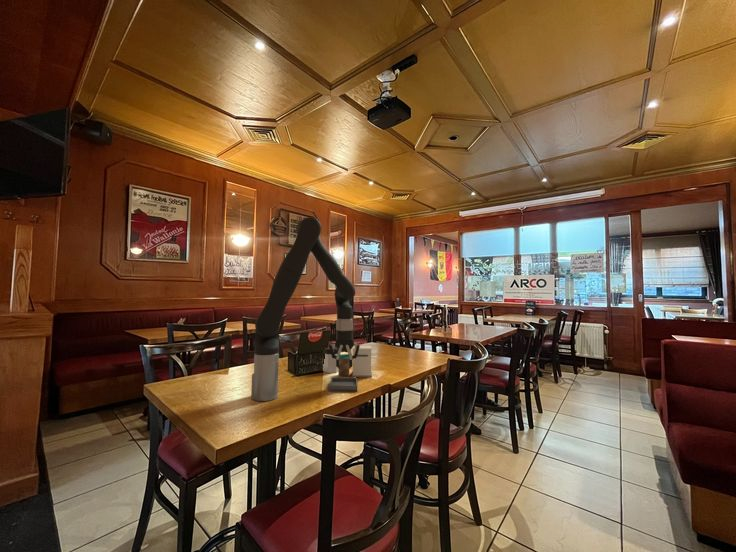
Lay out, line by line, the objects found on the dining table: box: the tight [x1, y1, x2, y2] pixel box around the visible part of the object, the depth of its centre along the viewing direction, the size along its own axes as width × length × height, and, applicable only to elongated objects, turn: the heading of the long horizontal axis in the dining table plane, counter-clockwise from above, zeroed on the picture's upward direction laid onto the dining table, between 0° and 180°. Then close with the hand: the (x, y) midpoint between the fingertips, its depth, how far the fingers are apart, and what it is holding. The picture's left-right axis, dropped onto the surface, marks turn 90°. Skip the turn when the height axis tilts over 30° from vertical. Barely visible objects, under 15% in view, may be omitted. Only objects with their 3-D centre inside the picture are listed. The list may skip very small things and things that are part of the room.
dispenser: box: [351, 345, 373, 379], centre depth 151 cm, size 10×8×14 cm
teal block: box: [339, 353, 351, 371], centre depth 132 cm, size 4×4×6 cm
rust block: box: [338, 369, 350, 378], centre depth 150 cm, size 4×4×6 cm
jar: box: [322, 346, 339, 374], centre depth 159 cm, size 9×8×12 cm
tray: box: [328, 377, 359, 393], centre depth 132 cm, size 12×12×2 cm
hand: (344, 367), depth 132 cm, fingers closed on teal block, 4 cm apart
